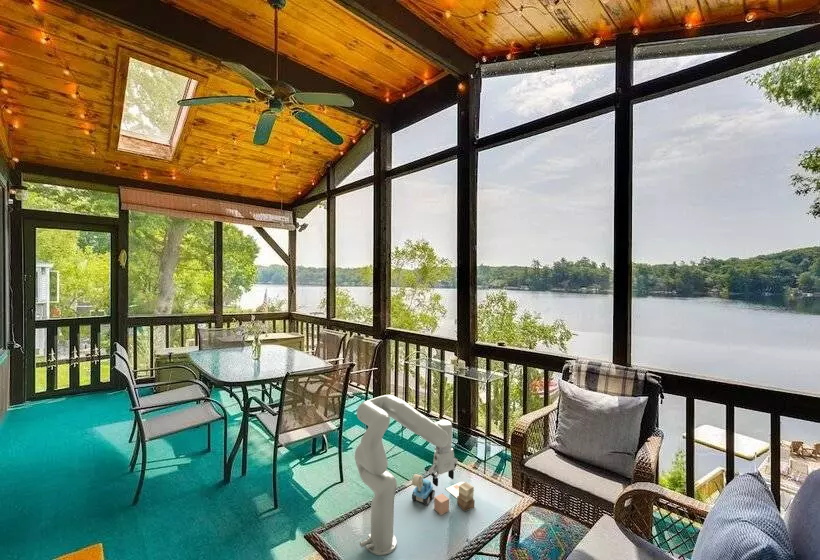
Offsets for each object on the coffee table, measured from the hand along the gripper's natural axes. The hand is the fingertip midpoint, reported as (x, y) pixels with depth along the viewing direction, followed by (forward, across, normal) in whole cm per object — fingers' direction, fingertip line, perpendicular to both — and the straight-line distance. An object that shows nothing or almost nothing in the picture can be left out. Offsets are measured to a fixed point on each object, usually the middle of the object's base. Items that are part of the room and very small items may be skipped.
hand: (443, 481), depth 181 cm
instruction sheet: (+14, +17, +7) cm, 23 cm away
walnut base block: (+15, +11, -4) cm, 19 cm away
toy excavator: (+14, -6, +10) cm, 18 cm away
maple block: (+11, +11, -4) cm, 16 cm away
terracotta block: (+14, -1, 0) cm, 14 cm away
